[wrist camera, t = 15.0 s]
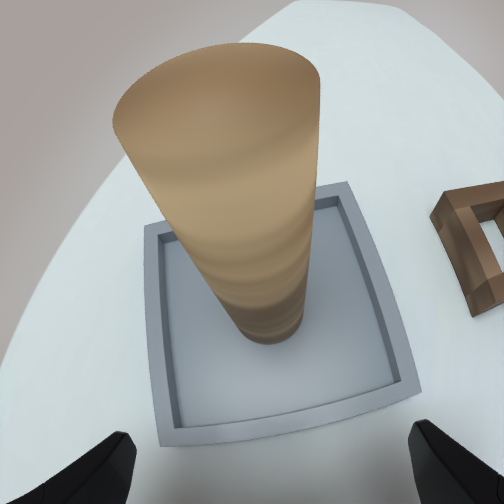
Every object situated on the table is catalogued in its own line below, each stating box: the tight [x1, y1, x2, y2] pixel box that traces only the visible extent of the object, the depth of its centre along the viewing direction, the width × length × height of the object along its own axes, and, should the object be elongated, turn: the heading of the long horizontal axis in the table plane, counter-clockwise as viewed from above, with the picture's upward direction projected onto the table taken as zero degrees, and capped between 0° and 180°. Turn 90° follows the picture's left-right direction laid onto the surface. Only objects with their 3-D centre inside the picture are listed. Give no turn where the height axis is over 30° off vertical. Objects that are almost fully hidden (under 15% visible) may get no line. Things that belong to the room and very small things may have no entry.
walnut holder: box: [430, 181, 504, 317], centre depth 16 cm, size 8×8×3 cm
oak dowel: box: [113, 43, 320, 345], centre depth 11 cm, size 4×4×14 cm
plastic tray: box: [144, 181, 422, 447], centre depth 17 cm, size 14×14×2 cm
